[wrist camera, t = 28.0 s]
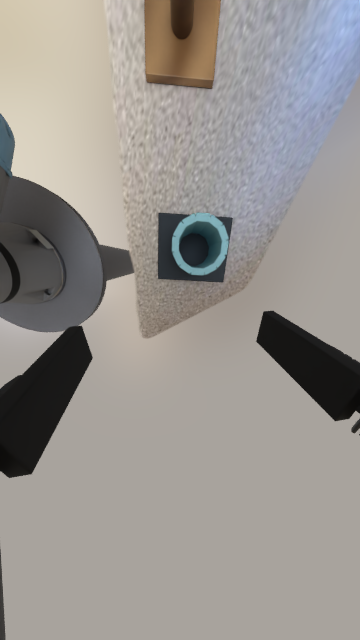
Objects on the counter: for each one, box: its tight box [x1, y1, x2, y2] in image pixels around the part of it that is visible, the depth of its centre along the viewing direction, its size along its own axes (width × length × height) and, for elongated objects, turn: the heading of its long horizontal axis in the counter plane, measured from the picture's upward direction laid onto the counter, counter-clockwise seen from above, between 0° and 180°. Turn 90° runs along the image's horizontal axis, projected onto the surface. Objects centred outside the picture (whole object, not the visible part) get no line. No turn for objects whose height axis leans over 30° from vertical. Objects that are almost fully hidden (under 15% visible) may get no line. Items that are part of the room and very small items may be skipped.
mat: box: [158, 213, 233, 282], centre depth 32 cm, size 14×12×1 cm
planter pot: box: [172, 213, 229, 275], centre depth 27 cm, size 8×8×10 cm
